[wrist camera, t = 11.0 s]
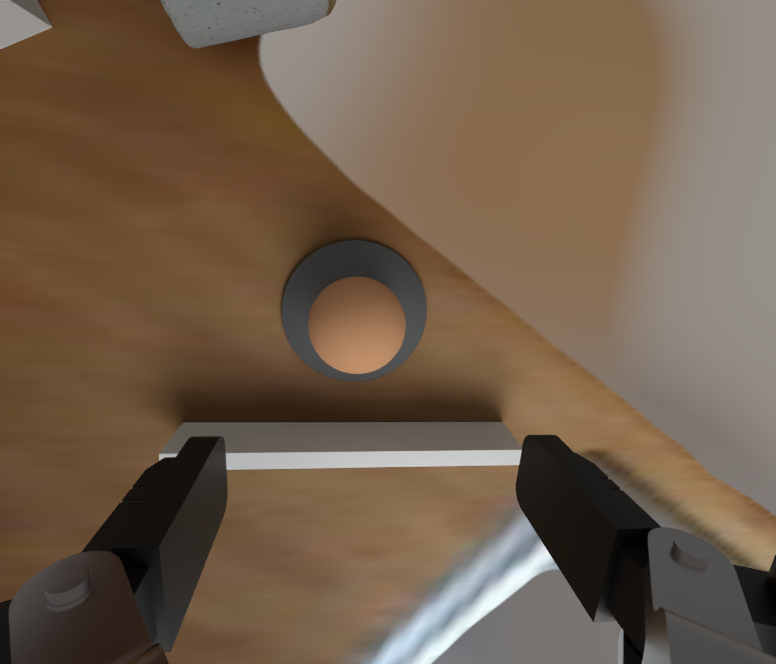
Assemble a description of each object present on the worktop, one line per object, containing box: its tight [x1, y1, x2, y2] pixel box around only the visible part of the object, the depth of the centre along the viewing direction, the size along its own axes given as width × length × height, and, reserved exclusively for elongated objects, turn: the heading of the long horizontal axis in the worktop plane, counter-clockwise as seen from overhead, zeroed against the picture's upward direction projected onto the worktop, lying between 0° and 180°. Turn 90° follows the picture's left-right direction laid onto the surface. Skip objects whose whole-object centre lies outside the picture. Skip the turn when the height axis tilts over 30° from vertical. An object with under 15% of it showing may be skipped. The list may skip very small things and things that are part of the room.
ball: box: [308, 277, 406, 374], centre depth 24 cm, size 6×6×6 cm
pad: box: [282, 240, 426, 381], centre depth 27 cm, size 10×10×1 cm
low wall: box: [159, 422, 522, 470], centre depth 28 cm, size 24×1×4 cm, turn 87°
